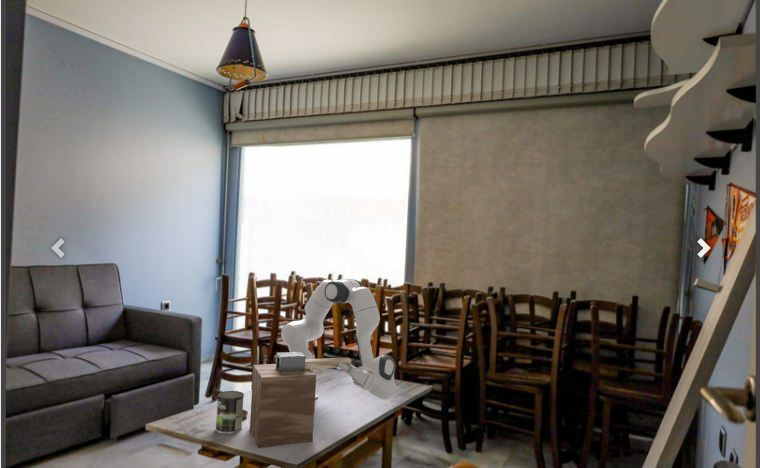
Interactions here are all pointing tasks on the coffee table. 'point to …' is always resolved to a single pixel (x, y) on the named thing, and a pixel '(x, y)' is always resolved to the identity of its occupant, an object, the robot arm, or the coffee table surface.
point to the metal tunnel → (290, 361)
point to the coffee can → (229, 412)
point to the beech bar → (325, 363)
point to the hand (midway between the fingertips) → (336, 361)
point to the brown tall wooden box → (282, 406)
